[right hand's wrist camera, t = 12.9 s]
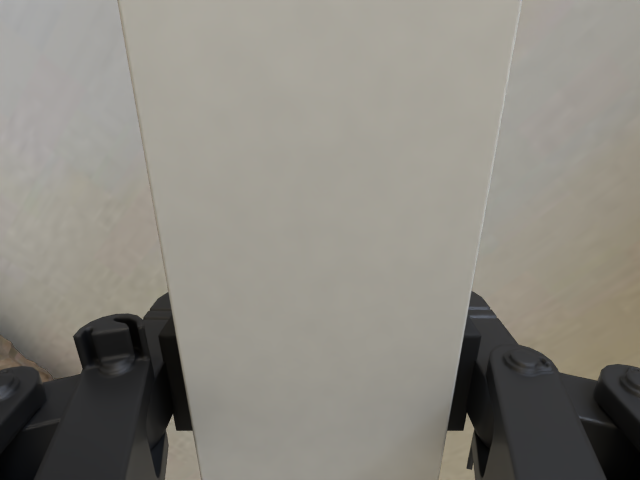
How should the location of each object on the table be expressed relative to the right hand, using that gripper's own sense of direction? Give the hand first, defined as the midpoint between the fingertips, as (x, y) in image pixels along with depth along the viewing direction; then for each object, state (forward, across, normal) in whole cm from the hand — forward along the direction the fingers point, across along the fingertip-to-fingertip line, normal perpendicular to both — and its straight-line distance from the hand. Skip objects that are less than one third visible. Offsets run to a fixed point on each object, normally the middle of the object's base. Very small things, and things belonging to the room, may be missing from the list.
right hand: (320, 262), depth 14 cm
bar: (+1, 0, -8) cm, 8 cm away
